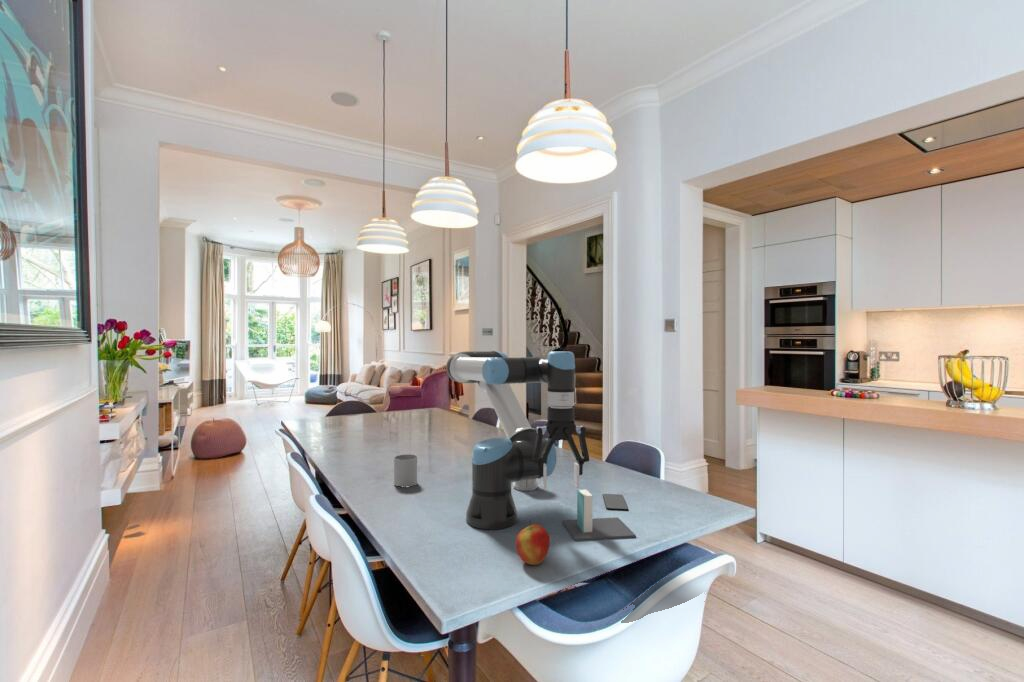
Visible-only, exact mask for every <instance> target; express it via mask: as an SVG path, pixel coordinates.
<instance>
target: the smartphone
mask: <svg viewBox="0 0 1024 682" xmlns="http://www.w3.org/2000/svg"><path fill="white" fill-rule="evenodd" d="M602 498H603V502H604V506H605V509H606V511H618V512H619V511H623V512H627V511H629V508H628V505H627V502H626V499H625V498H624V496H623V494H617V493H602Z"/></svg>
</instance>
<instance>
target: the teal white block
mask: <svg viewBox="0 0 1024 682" xmlns="http://www.w3.org/2000/svg"><path fill="white" fill-rule="evenodd" d="M576 492H577V494H576V495H577V498H576V499H577V504H576V505H577V506H576V507H577V508H576V511H577V512H576V514H577V515H576V518H577V525H578V527H579V528H580V529H581V531H582V532H592V519H593V504H594V503H593V498H594V497H593V494H592V493H590V491H589V490H588V489H577V491H576Z"/></svg>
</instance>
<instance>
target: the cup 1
mask: <svg viewBox="0 0 1024 682" xmlns="http://www.w3.org/2000/svg"><path fill="white" fill-rule="evenodd" d="M415 484H416V485H418V455H415V454H409V453H407V454H398V455H396V456H394V457H393V486H394V485H396V486H401V487H402V486H403V487H406V486H412V487H414V486H413V485H415ZM416 485H415V486H416ZM396 486H395V487H396ZM406 488H407V487H406Z"/></svg>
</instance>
